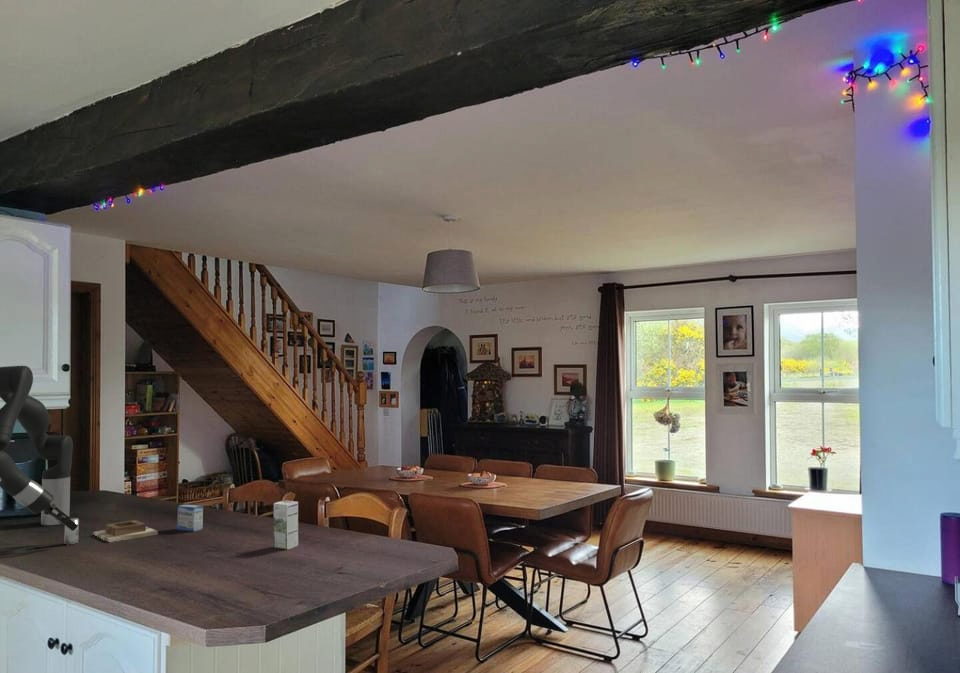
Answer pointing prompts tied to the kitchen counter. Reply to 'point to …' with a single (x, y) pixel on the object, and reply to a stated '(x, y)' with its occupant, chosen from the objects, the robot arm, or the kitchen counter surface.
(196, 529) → the medicine box
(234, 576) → the kitchen counter surface
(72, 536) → the grey cylinder
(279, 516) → the syrup box
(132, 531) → the wooden socket base
